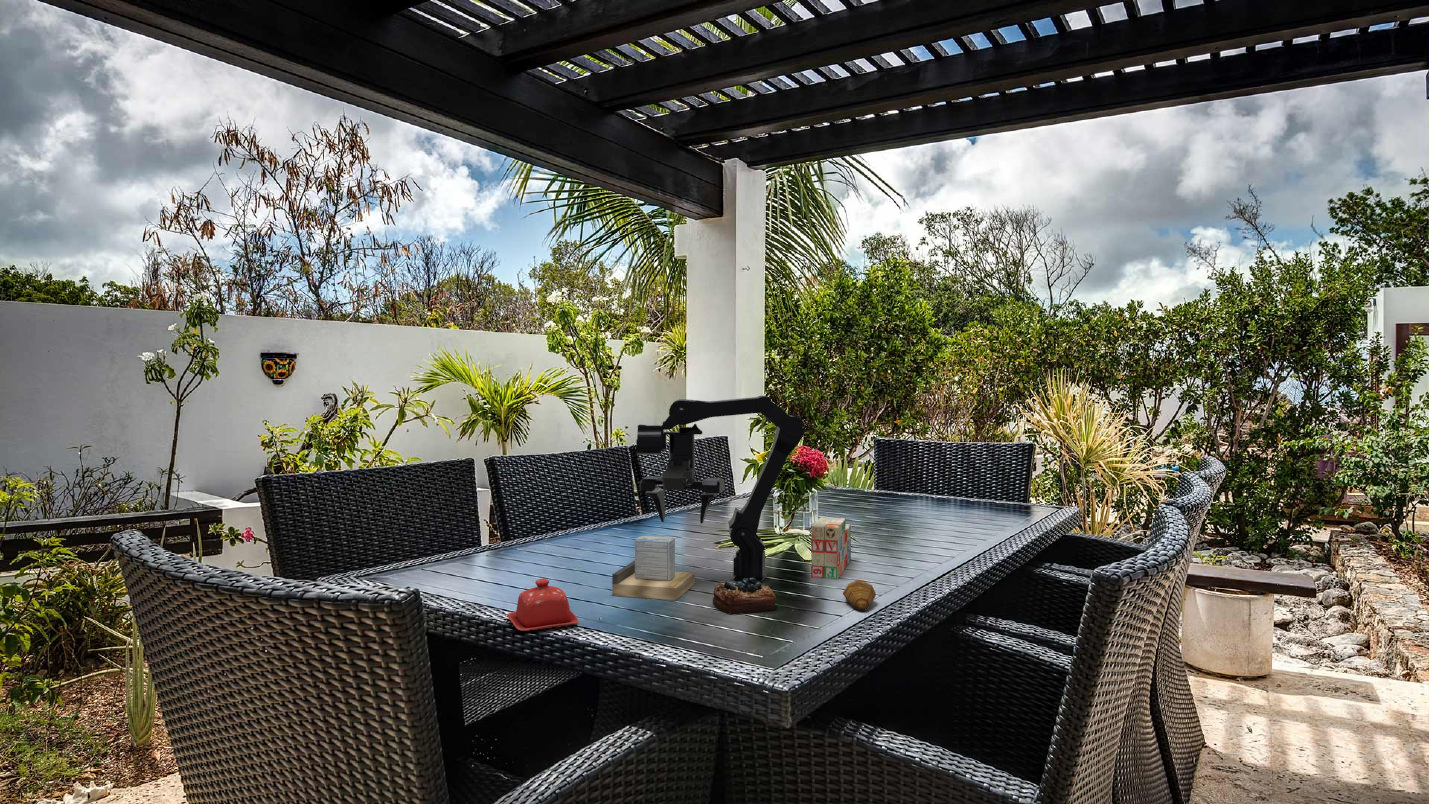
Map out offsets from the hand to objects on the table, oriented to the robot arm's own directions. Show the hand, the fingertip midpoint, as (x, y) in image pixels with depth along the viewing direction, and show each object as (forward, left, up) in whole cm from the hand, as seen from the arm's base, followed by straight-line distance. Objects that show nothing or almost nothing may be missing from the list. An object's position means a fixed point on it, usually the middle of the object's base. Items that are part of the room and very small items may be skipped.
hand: (682, 522), depth 183 cm
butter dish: (+15, +39, -13) cm, 44 cm away
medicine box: (+3, +11, -11) cm, 15 cm away
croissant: (-41, +10, -13) cm, 44 cm away
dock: (+3, +11, -13) cm, 17 cm away
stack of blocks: (-32, -20, -13) cm, 40 cm away
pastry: (-18, +18, -13) cm, 29 cm away
